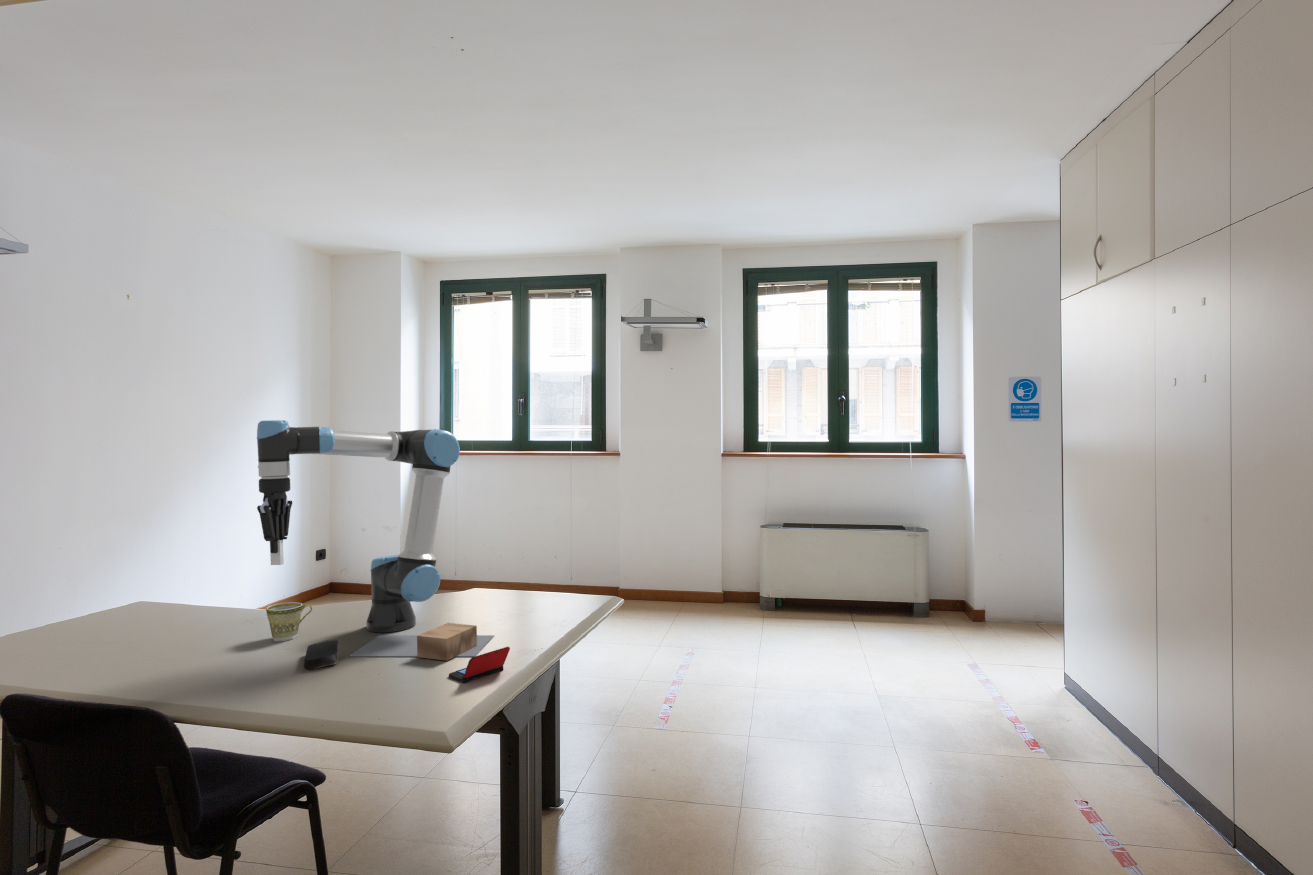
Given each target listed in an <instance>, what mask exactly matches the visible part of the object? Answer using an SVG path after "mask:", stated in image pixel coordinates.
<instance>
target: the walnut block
mask: <svg viewBox="0 0 1313 875" xmlns="http://www.w3.org/2000/svg"><path fill="white" fill-rule="evenodd" d="M477 630H478V626H477V625H474V624H465V623H455V622H446V623H444V624H441V625H440V626H437V627H435V628H433V629H430V630H428V631H425V632H422V633H421V634H418V635H417V634H416V635H417V657H416V658H422V659H429V660H440V661H449V660H451V659H453V658H457V657H456V656H458V655H460V654H462V653H464V652H466V651H468V650H470V649H472V648H474V647H476V646H477V635H478V634H477V632H478V631H477Z"/></svg>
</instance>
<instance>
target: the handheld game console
mask: <svg viewBox="0 0 1313 875" xmlns="http://www.w3.org/2000/svg"><path fill="white" fill-rule="evenodd" d="M510 650H511V647H510V646H505V647H503V648H501V647H500V648H499V649H495V650H492V651H489V652H485V653H483V654H480V655H478V654H477V655H476V656H475V657H470V659H469V660H468V663H467V665H466V667H464V668H461V669H458V670H456V671H452V672H450V673H448V678H449V679H452V680H454V681H457V682H460V683H462V684H466V683H467V684H468V683H469V682H472V681H475V680H478V679H480V678H482V677H486V676H491V675H493V674H497V673H499V672H503V671H504V665H505V662H506V660H507V658H508V656H509V653H510Z"/></svg>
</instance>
